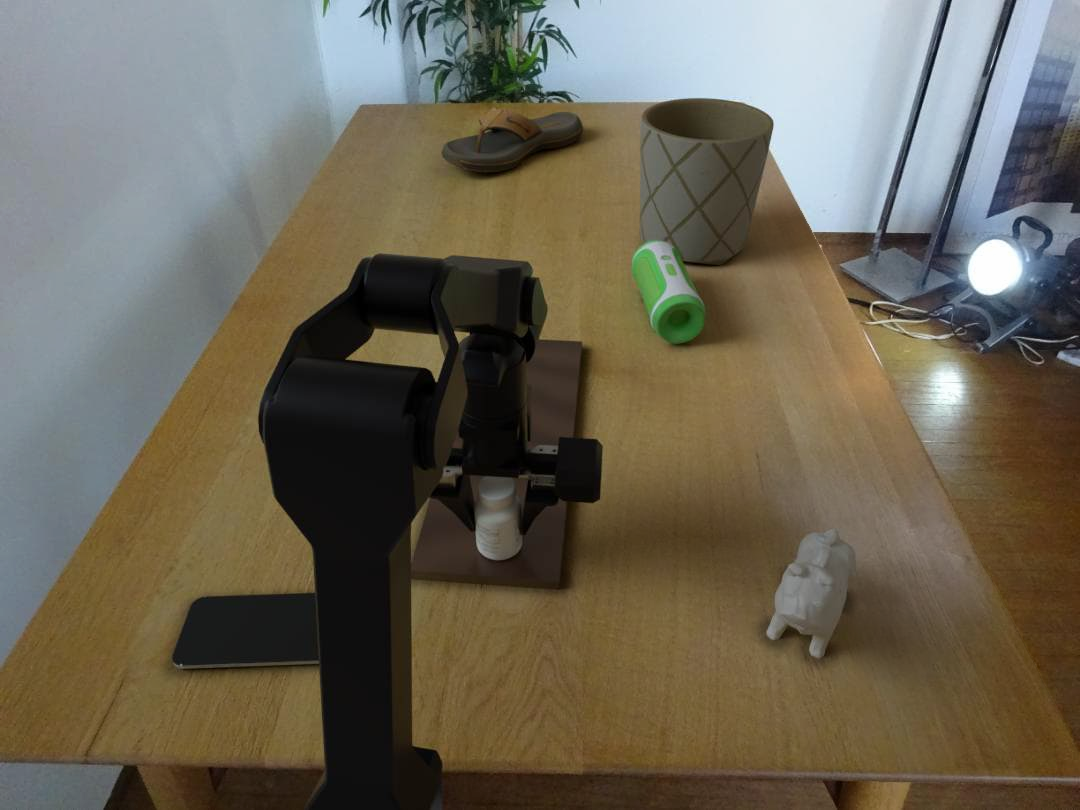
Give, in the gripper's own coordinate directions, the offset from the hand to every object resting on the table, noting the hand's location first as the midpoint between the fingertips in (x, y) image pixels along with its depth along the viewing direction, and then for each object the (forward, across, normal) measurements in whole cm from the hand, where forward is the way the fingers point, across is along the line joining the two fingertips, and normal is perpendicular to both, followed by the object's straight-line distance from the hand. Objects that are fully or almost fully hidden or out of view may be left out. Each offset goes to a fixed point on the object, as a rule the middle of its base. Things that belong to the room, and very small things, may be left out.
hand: (498, 530), depth 76 cm
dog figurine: (+4, -28, +6) cm, 29 cm away
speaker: (+3, -17, -46) cm, 49 cm away
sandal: (+3, +11, -104) cm, 105 cm away
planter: (+3, -22, -68) cm, 72 cm away
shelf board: (+3, +1, -16) cm, 16 cm away
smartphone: (+3, +19, +11) cm, 22 cm away
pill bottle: (+2, 0, 0) cm, 2 cm away
